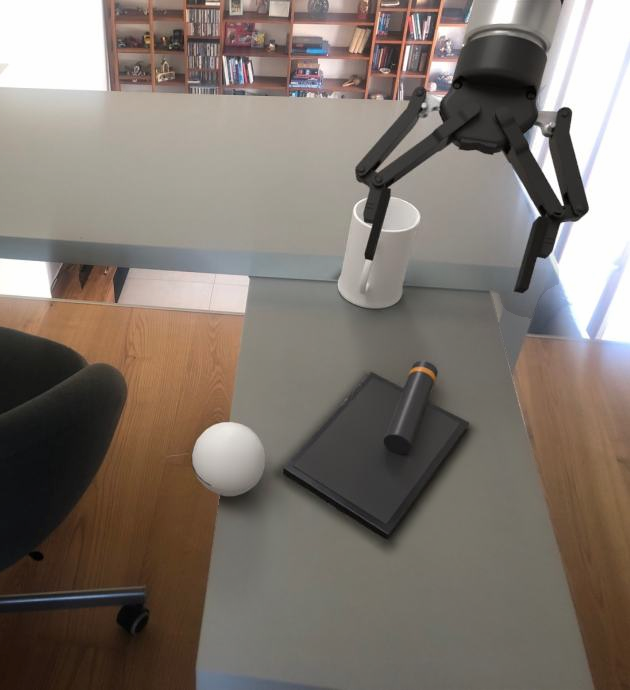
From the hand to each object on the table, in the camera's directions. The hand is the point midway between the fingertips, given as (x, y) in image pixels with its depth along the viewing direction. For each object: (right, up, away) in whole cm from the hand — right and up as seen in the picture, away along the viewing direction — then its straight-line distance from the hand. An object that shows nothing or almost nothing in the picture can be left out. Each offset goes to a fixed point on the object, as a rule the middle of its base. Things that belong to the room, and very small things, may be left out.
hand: (442, 274), depth 64 cm
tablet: (-3, -18, +10) cm, 21 cm away
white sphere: (-21, -21, +8) cm, 30 cm away
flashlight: (-2, -17, +7) cm, 18 cm away
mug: (+1, 0, +28) cm, 28 cm away
